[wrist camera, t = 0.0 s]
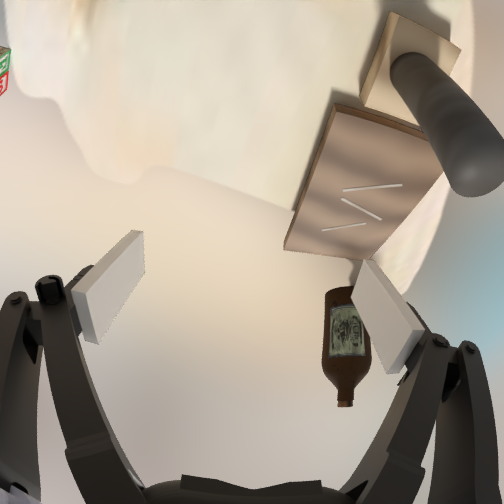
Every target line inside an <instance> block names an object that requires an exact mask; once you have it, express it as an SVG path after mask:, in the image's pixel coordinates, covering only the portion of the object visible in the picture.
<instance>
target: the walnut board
mask: <svg viewBox="0 0 504 504" xmlns="http://www.w3.org/2000/svg"><path fill="white" fill-rule="evenodd" d="M443 171H444V170H443V168H442V166H441V164H440V162H439V160H438V158H437V156H436V154H435V152H434V151H433V149H432V147H431V145H430V143H429V141H428V140H427V138H426V136H425V134H424V133H422V132H420V131H418V130H415V129H413V128H410V127H407V126H405V125H402V124H399V123H397V122H394V121H391V120H388V119H385V118H382V117H379V116H376V115H373V114H370V113H367V112H363V111H360V110H356V109H353V108H349V107H346V106H342V105H338V104H334V105H333V108H332V111H331V114H330V117H329V120H328V122H327V125H326V128H325V131H324V134H323V137H322V140H321V142H320V145H319V148H318V151H317V154H316V157H315V159H314V162H313V165H312V168H311V170H310V173H309V176H308V179H307V181H306V184H305V187H304V189H303V192H302V195H301V198H300V200H299V203H298V206H297V208H296V211H295V214H294V216H293V219H292V222H291V224H290V227H289V230H288V232H287V235H286V237H285V240H284V250H287V251H294V252H302V253H311V254H318V255H325V256H333V257H341V258H348V259H355V260H364V259H365V260H369V259H370V257H371V256H372V255H373V254H374V253H375V252H376V251H377V250H378V249H379V248H380V247H381V246H382V245H383V243H384V242H385V241H386V240H387V239H388V238H389V237H390V236H391V235H392V233H393V232H394V231H395V230H396V229H397V228H398V227H399V225H400V224H401V223H402V222H403V221H404V220H405V218H406V217H407V216H408V215H409V214H410V213H411V211H412V210H413V209H414V208H415V207H416V205H417V204H418V203H419V202H420V201H421V199H422V198H423V197H424V196H425V194H426V193H427V192H428V191H429V189H430V188H431V187H432V186H433V184H434V183H435V182H436V180H437V179H438V178H439V176H440V175H441V174H442V173H443Z"/></svg>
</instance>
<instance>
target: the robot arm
mask: <svg viewBox="0 0 504 504" xmlns="http://www.w3.org/2000/svg"><path fill="white" fill-rule="evenodd" d="M144 273H145V264H144V240H143V231H136V230H131V231H130V232H129V233H128V234H127V235H126V236H125V237H123V238H122V239H121V240H120V241H119V242H118V243H117V244H116V245H115V246H114V247H113V248H112V249H111V250H110V251H109V252H108V253H107V254H106V255H105V256H104V257H103V258H102V259H100V260H99V261H98V262H97V263H96V264H95V265H90V266H87V267H86V268H84V269H82V270H81V271H80V272H79V273H78V275H76V276H75V277H74V278H73V280H71V281H70V282H69V283H68V284H67V285H66V286H65V287H64V286H63V282H62V279H61V277H59V276H57V275H48V276H45V277H42V278H41V279H39V280H38V281H37V282H36V284H35V289H36V292H37V295H38V299H39V301H38V302H37V301H29V299H28V296H27V294H26V293H25V292H21V291H18V292H13V293H11V294H10V295H9V296H8V297H7V298H6V299H5V301H4V304H3V306H2V308H1V310H0V504H41V503H40V502H41V488H40V475H39V465H38V451H37V400H38V385H39V375H40V366H41V358H42V351H43V346H44V354H45V359H46V366H47V372H48V377H49V382H50V387H51V392H52V396H53V400H54V404H55V408H56V412H57V416H58V419H59V422H60V425H61V429H62V432H63V435H64V438H65V441H66V445H67V449H65V455H66V459H67V462H68V465H69V467H70V470H71V472H72V474H73V477H74V479H75V481H76V484H77V486H78V488H79V490H80V492H81V494H82V497H83V498H84V501H85V503H86V504H412V503H413V501H414V499H415V497H416V495H417V493H418V490H419V488H420V486H421V483H422V481H423V478H424V475H425V469H424V468H422V467H421V463H422V460H423V457H424V455H425V452H426V448H427V446H428V443H429V440H430V437H431V434H432V430H433V427H434V424H435V420H436V437H435V452H434V463H433V472H432V480H431V486H430V493H429V498H428V504H502V499H501V494H500V490H499V486H498V481H499V470H498V447H497V435H496V427H495V419H494V413H493V407H492V401H491V395H490V390H489V386H488V381H487V377H486V373H485V369H484V365H483V361H482V357H481V354H480V351H479V349H478V347H477V346H476V345H475V344H474V343H472V342H470V341H462V343H461V344H460V346H459V347H458V348H456V347H452V346H450V344H449V342H448V340H446V339H445V337H443V336H441V335H439V334H436V333H432V332H431V331H430V330H429V328H428V327H427V325H426V324H425V322H424V321H423V320H422V319H421V317H420V315H418V313H417V311H416V310H415V308H414V307H413V306H411V305H410V304H409V303H408V302H405V300H404V299H403V298H402V296H401V295H400V293H399V292H398V291H397V289H396V288H395V287H394V285H393V284H392V283H391V281H390V280H389V279H388V278H387V276H386V275H385V274H384V272H383V271H382V270H381V269H380V267H379V266H378V265H377V264H376V262H375V261H372V260H365V259H364V260H363V263H362V266H361V269H360V272H359V275H358V278H357V281H356V284H355V287H354V290H353V292H352V295H351V299H352V301H353V303H354V305H355V307H356V309H357V311H358V313H359V315H360V317H361V319H362V321H363V323H364V326H365V328H366V330H367V332H368V334H369V336H370V338H371V341H372V342H373V345H374V347H375V349H376V352H377V354H378V356H379V358H380V360H381V363H382V365H383V367H384V369H385V372H386V374H393V373H399V372H400V371H401V369H402V368H403V366H404V365H406V367H407V369H408V370H407V371H406V373H405V375H404V376H403V377H402V379H401V380H400V382H399V383H398V384H397V385H398V386H399V385H400V386H399V388H398V391H397V393H396V395H395V398H394V400H393V402H392V404H391V407H390V408H389V411H388V413H387V415H386V417H385V419H384V421H383V423H382V425H381V427H380V429H379V430H378V432H377V434H376V436H375V438H374V440H373V442H372V444H371V445H370V447H369V449H368V450H367V452H366V454H365V455H364V457H363V459H362V460H361V462H360V464H359V465H358V467H357V468H356V470H355V471H354V473H353V474H352V476H351V477H350V479H349V480H348V481H347V483H346V484H345V485H344V486H343V487H342V488H341V489H340V490H339V491H337V490H334V489H331V488H327V487H322V485H321V480H316V481H302V482H288V483H283V484H279V485H275V486H270V487H265V488H260V489H248V488H244V487H240V486H237V485H233V484H230V483H227V482H223V481H220V480H217V479H210V478H202V477H195V476H189V475H183V474H182V477H181V480H174V481H167V482H163V483H158V484H155V485H153V486H150V487H149V488H145V486H144V484H143V483H142V481H141V480H140V478H139V477H138V475H137V474H136V472H135V471H134V469H133V468H132V466H131V464H130V463H129V461H128V459H127V457H126V455H125V454H124V452H123V450H122V448H121V446H120V444H119V442H118V440H117V438H116V436H115V434H114V432H113V430H112V428H111V425H110V423H109V421H108V419H107V417H106V414H105V412H104V410H103V407H102V405H101V402H100V400H99V398H98V395H97V393H96V390H95V387H94V385H93V382H92V379H91V376H90V374H89V370H88V367H87V364H86V361H85V358H84V355H83V351H82V348H81V345H80V341H79V338H78V336H79V334H80V333H81V332H82V333H83V336H84V339H85V341H88V342H91V343H95V344H99V343H100V342H101V340H102V338H103V337H104V335H105V333H106V332H107V330H108V329H109V327H110V325H111V323H112V322H113V320H114V319H115V317H116V316H117V314H118V312H119V311H120V309H121V308H122V306H123V305H124V303H125V302H126V300H127V299H128V297H129V296H130V294H131V292H132V291H133V290H134V288H135V287H136V285H137V284H138V282H139V281H140V279H141V278H142V276H143V275H144Z"/></svg>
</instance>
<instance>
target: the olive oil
mask: <svg viewBox="0 0 504 504" xmlns="http://www.w3.org/2000/svg"><path fill="white" fill-rule="evenodd" d="M353 290H354V287H353V286H347V287H339V288H335V289H332V290H330V291H328V292H327V293H326V294H325V320H324V338H323V351H322V368H323V372H324V374H325V375H326V377H327V378H328V379H329V380H330V381H331V382H332V383H333V385H335V387H336V388H337V389H338V399H337V400H338V407H352V406H353V400H354V388H355V387H356V386H357V385H358V383H359V382H360V381H361V380H362V379H363V378H364V377H365V375H366V374H367V373H368V371H369V369H370V366H371V361H372V356H371V342H370V336H369V334H368V332H367V330H366V328H365V326H364V323H363V321H362V319H361V317H360V315H359V313H358V311H357V309H356V307H355V305H354V303H353V301H352V299H351V295H352V292H353Z"/></svg>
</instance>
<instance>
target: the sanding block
mask: <svg viewBox="0 0 504 504" xmlns="http://www.w3.org/2000/svg"><path fill="white" fill-rule="evenodd" d="M460 52H461V49H460V48H458V47H457V46H455V45H454V44H452V43H451V42H449V41H448V40H446V39H444V38H443V37H441V36H439V35H438V34H436V33H434V32H432V31H430V30H429V29H427V28H425V27H423V26H421V25H419V24H417V23H415V22H413V21H411V20H409V19H407V18H405V17H403V16H400V15H398V14H396V13H394V12H391V11H390V13H389V16H388V19H387V22H386V25H385V28H384V30H383V33H382V36H381V39H380V42H379V45H378V48H377V50H376V53H375V56H374V59H373V61H372V64H371V67H370V70H369V72H368V75H367V78H366V80H365V83H364V85H363V88H362V91H361V93H360V98H361V100H362V102H363V104H364V106H365V107H368V108H371V109H375V110H378V111H381V112H384V113H387V114H389V115H392V116H395V117H398V118H400V119H403V120H406V121H408V122H411V123H413V124H416V125H418V126H420V128H421V129H422V131H423V133H424V134H425V136H426V138H427V140H428V141H429V143H430V145H431V147H432V149H433V151H434V152H435V154H436V156H437V158H438V160H439V162H440V164H441V166H442V168H443V170H444V172H445V174H446V177H447V179H448V181H449V183H450V185H451V188H452V189H453V190H454V191H455V192H456V193H457V194H459V195H461V196H464V197H478V196H482V195H485V194H487V193H489V192H491V191H493V190H494V189H496V188H497V187H498V186H499V185H500V184H501V183H502V182H503V181H504V139H503V137H502V136H501V135H500V133H499V132H498V131H497V129H496V128H495V127H494V125H493V124H492V123H491V122H490V120H489V119H488V118H487V117H486V116H485V114H484V113H483V112H482V111H481V109H480V108H479V107H478V106H477V105H476V104H475V103H474V101H473V100H472V99H471V98H470V97H469V96H468V95H467V94H466V93H465V92H464V91H463V90H462V89H461V88H460V87H459V86H458V85H457V84H456V83H455V82H454V81H453V80H452V79H451V78H450V77H449V75H450V73H451V71H452V69H453V67H454V65H455V63H456V61H457V59H458V56H459V54H460Z"/></svg>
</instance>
